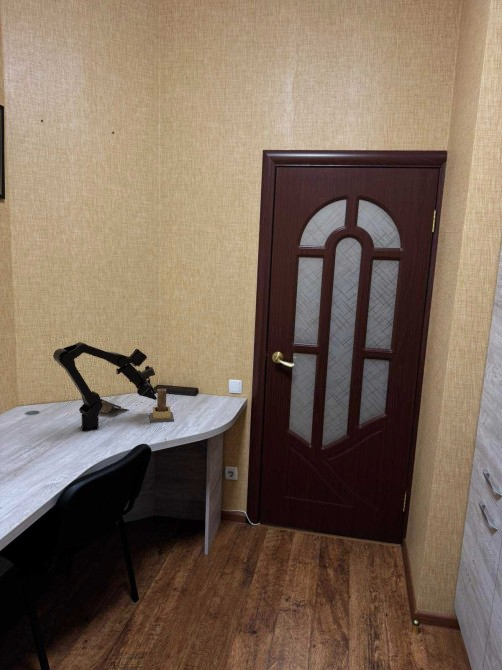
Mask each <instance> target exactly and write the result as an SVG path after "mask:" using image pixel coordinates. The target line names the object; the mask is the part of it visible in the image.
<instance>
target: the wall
mask: <svg viewBox="0 0 502 670" xmlns="http://www.w3.org/2000/svg"><path fill="white" fill-rule="evenodd" d="M101 400H103V401H102V403H103V406H102V409H101V410H100V412H102V413H105V414H109V412H110V411H111V410H112V409H113V407H115V408H118V409H122V408H123V409H125V407H123V406H121V405H118V404H116V403H113V402H111V401H108V400H106V399H103V398H101ZM127 410H129V411H130V409H128V408H127Z"/></svg>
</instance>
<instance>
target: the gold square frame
mask: <svg viewBox="0 0 502 670" xmlns="http://www.w3.org/2000/svg"><path fill="white" fill-rule="evenodd" d="M170 422H173V423H174V422H175V417H174V413H173V411H171V405H169V406H168V405H166V411H157V406H152V412H149V423H170Z"/></svg>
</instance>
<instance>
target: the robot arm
mask: <svg viewBox="0 0 502 670" xmlns="http://www.w3.org/2000/svg"><path fill="white" fill-rule="evenodd" d="M82 354H87V355H90V356H92V357H95V358H98V359H102V360H104V361H106V362H107V363H110V364H111V365H113V366H115V367H118V368H116V369H115V370H116V373H115V374H116V375H120V374H122V375H123V376H124V377H126V379H128V382H130V383H132V384H133V385H134V386H135V389H136V390H137V394H138V395H139V396H140V397H145V398H148V399H151V400H153V401H156V400H157V390H155V388H154V387H153V385H152V384H151V377H154V376H156V372H155V369H154V368H153V366H149V365H147V366H145V367H144V368H145V369H143V370H142V371H141V370H140V369H136V368H137V367H141V365H143V363H144V362H145V361H146V360H147V359H148V356H147V355H146V354H145V353H143V352H142V351H141V350H140V349H139V348H136V349H134V350H133V352H132V353H131V354H130V355H129V356H127V355H124V354H123V353H122V354H121V353H120V352H119V353H118V352H115V351H105V350H103V349H100V348H97V347H94V346H91V345H88V344H87V343H85V342H82V341H79V342H77V343H74V344H72V345H68V346H66V347H63V348H57V349H55V351H54V352H53V355H52V356H53V357H52V358H53V359H54V361H55V362H56V363H57V364H58V365H59V366H60V367H61V368H63V370H64V371H65V372H66V373H67V375H68V376H69V378H70V379H71V380H72V382H73V384H74V386H75V387H76V389H77V390H78V392H79V394H80V395H81V399H82V403H83V404H81V406H80V407H79V408H78V411H79V413H80V414H81V415H80V417H81V425H80V427H81V431H82V432H86V431H87V432H88V431H96V430H99V426H100V425H99V424H100V423H99V420H100V419H99V415H100V412H101V411H100V410H101V409H102V406H103V403H102V401H103V400H104V399H103V400H101V399H102V398H101V396H100V394H99V393H98V392H96V391H94V390H91V389H90V387H89V385H88V383H86V380H85V379H84V377H83V376H82V374H81V372H80V371H79V369H78V368H77V366H76V361H75V360H76V359H78V357H80V356H81V355H82Z"/></svg>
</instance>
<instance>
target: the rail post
mask: <svg viewBox="0 0 502 670" xmlns="http://www.w3.org/2000/svg"><path fill="white" fill-rule="evenodd" d="M156 397H157V399H156V400H157V401H156V405H157V406H156V407H157V411H166V406H167V388H157V389H156Z"/></svg>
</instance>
